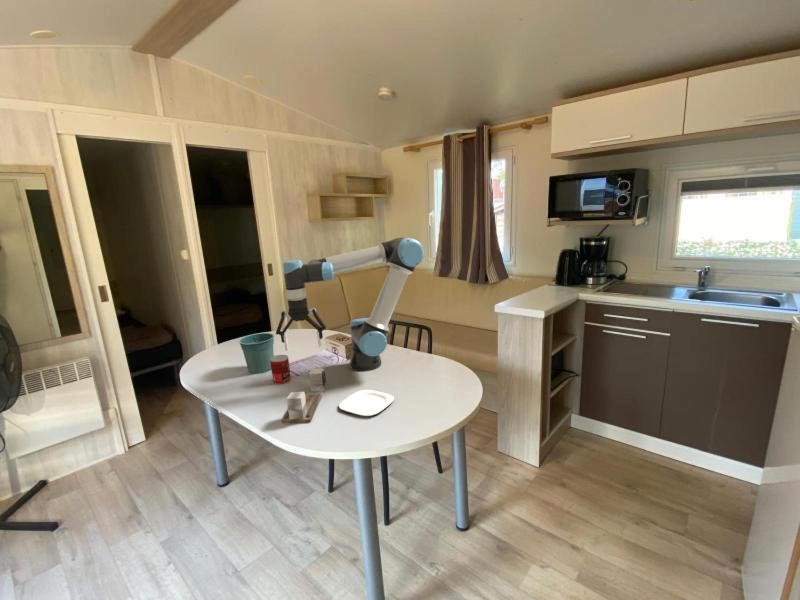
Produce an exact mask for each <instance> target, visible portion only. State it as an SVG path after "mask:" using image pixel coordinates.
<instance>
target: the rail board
mask: <svg viewBox="0 0 800 600" xmlns="http://www.w3.org/2000/svg"><path fill="white" fill-rule="evenodd" d="M322 398H323V393H321V392H319V393H317V392H316V393H307V394H306V393H305V391H294V392H290V393H289V394H288V396H287V398H286V403H287V409H288V410H287V412H286V413H285V415H284V417H283V418H282V421H281V422H282V424H283V425H285V424H303V423H307V424H308V423H311V422H312V420H313V417H314V416H315V414H316V412H317V409H318V408H319V407H318V406H319V404H320V402H321V399H322Z"/></svg>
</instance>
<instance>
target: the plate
mask: <svg viewBox="0 0 800 600" xmlns="http://www.w3.org/2000/svg"><path fill="white" fill-rule="evenodd" d="M394 400H395V397H394V396H393V395H391V394H389V393H385V392H382V391H378V390H373V389H362V390H361V389H360V390H358V391H356V392H354V393H352V394H350V395H349V396H348V397H346V398H344V399H343V400H342V401H341V402H339V404H338V408H339V409H340V410H341V411H344V412H347V413H349V414H352V415H356V416H361V417H373V416H375V415H377V414H379V413H381V412H383V410H385V409H386V408H387V407H389V406H390V405H391V404H392V403H393V402H394Z"/></svg>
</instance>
